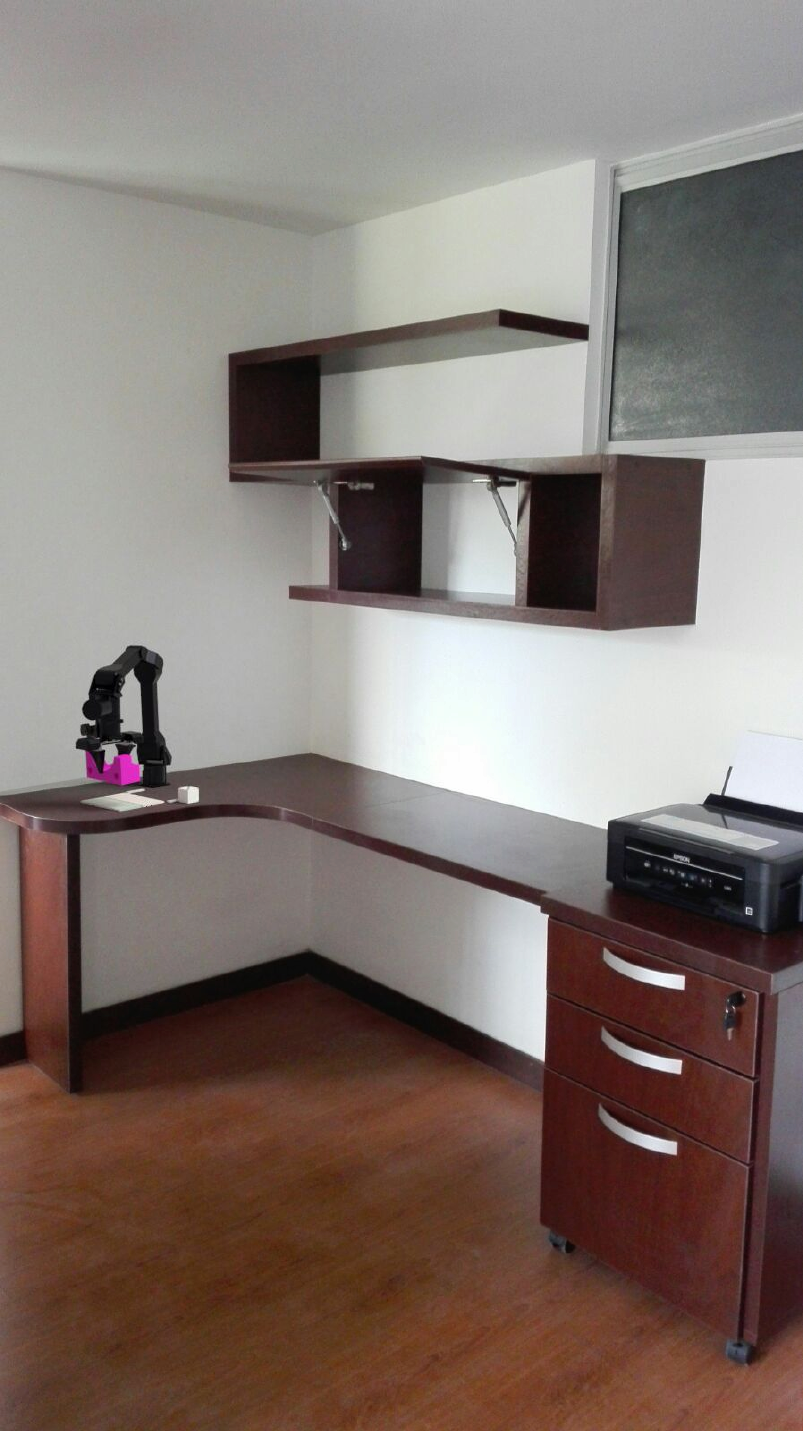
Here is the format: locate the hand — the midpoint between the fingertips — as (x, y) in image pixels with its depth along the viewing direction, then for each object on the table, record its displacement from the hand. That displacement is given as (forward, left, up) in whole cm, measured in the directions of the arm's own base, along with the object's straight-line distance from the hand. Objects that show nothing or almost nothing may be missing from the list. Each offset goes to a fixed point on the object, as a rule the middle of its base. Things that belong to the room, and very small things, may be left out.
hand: (110, 771), depth 324 cm
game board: (-8, 0, -9) cm, 12 cm away
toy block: (0, +1, -2) cm, 2 cm away
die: (-17, +12, -9) cm, 23 cm away
